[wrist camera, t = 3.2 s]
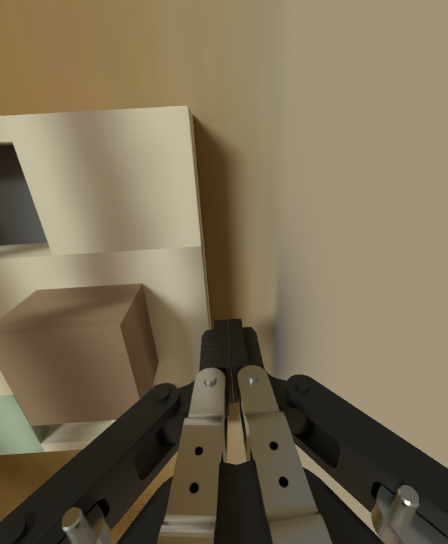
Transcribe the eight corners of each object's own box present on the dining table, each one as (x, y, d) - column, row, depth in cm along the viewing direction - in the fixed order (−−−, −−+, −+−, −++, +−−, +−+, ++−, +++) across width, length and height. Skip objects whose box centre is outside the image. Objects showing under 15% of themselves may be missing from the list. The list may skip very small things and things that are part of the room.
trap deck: (192, 114, 14) (184, 99, 10) (218, 406, 24) (219, 459, 20) (-252, 138, 14) (-444, 134, 10) (-43, 424, 24) (-96, 482, 20)
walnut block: (142, 283, 15) (120, 325, 11) (158, 362, 18) (144, 417, 14) (36, 289, 15) (-20, 334, 11) (68, 368, 18) (31, 425, 14)
